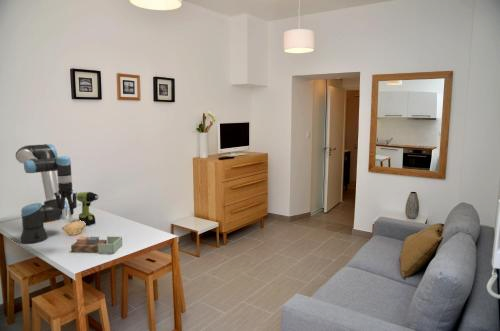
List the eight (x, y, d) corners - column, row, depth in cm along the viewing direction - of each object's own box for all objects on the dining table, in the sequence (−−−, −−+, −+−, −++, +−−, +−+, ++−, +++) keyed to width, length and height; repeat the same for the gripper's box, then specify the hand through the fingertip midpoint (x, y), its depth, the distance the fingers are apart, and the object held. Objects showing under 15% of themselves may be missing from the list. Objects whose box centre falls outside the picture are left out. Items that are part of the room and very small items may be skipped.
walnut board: (71, 252, 216) (71, 245, 215) (80, 245, 227) (80, 239, 226) (98, 252, 215) (98, 246, 214) (107, 245, 226) (106, 239, 225)
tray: (98, 253, 214) (97, 244, 213) (108, 245, 227) (107, 236, 226) (113, 253, 214) (113, 244, 213) (122, 245, 227) (121, 236, 226)
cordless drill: (104, 226, 262) (102, 193, 258) (95, 228, 257) (93, 195, 253) (85, 220, 275) (83, 188, 271) (77, 223, 269) (75, 190, 265)
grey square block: (87, 244, 218) (86, 239, 217) (91, 241, 223) (90, 236, 222) (95, 244, 218) (94, 239, 217) (99, 241, 223) (98, 236, 222)
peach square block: (76, 243, 218) (76, 239, 218) (81, 240, 223) (80, 236, 223) (84, 244, 218) (84, 239, 217) (88, 241, 223) (88, 236, 222)
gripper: (47, 183, 211) (51, 221, 215) (75, 183, 211) (77, 221, 214) (55, 180, 219) (58, 217, 223) (81, 181, 218) (84, 218, 222)
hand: (67, 219), depth 218 cm, fingers open, 3 cm apart
